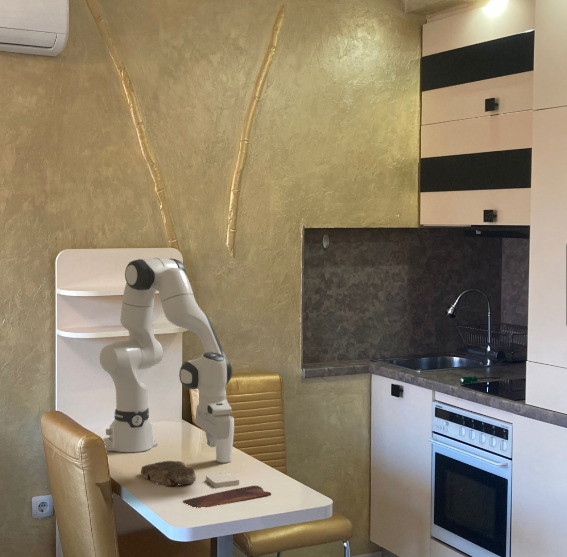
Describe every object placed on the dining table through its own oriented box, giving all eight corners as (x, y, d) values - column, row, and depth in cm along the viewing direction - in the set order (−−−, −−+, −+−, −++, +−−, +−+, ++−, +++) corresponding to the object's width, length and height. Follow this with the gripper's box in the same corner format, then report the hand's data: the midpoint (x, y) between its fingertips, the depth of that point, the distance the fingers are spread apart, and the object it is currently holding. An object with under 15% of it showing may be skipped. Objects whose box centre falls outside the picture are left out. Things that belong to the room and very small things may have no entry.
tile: (206, 475, 276) (215, 483, 269) (229, 472, 280) (239, 479, 273) (205, 481, 276) (215, 489, 269) (229, 478, 280) (239, 485, 273)
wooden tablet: (193, 506, 248) (179, 493, 257) (193, 514, 249) (178, 500, 257) (274, 492, 262) (257, 480, 271) (273, 499, 263) (257, 487, 271)
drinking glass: (212, 459, 301) (212, 416, 300) (231, 457, 303) (231, 415, 302) (216, 464, 294) (216, 420, 293) (236, 463, 296) (236, 419, 295)
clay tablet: (205, 485, 272) (178, 468, 289) (205, 470, 272) (178, 453, 289) (164, 493, 265) (138, 475, 282) (163, 478, 265) (138, 460, 282)
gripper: (191, 397, 288) (190, 438, 289) (215, 411, 270) (214, 455, 271) (209, 396, 291) (208, 436, 292) (234, 410, 272) (232, 453, 274)
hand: (211, 445), depth 281 cm, fingers closed
